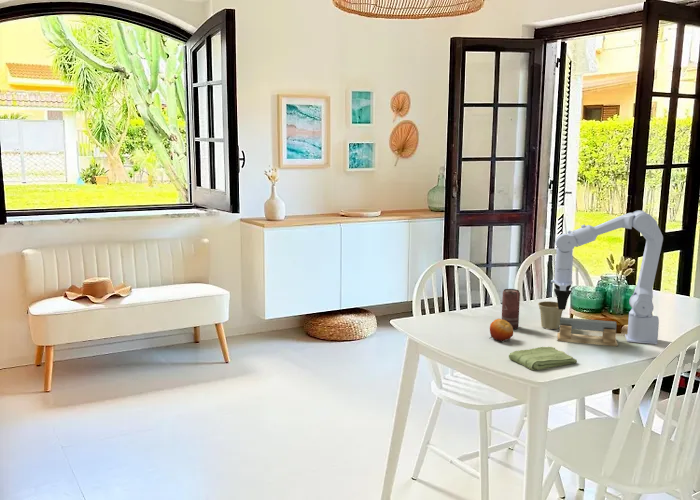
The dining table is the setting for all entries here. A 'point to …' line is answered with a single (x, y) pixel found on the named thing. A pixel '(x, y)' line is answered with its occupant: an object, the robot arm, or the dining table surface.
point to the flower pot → (550, 314)
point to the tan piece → (587, 337)
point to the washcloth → (541, 358)
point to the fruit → (501, 330)
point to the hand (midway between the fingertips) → (561, 306)
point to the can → (511, 307)
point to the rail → (588, 324)
